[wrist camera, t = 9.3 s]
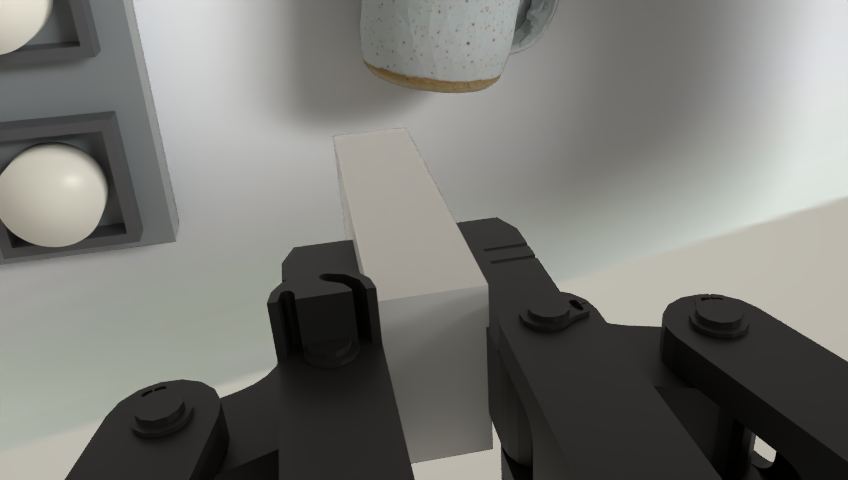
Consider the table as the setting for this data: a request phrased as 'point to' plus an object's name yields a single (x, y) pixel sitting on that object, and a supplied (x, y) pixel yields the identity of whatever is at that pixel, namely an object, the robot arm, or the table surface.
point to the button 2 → (53, 194)
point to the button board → (90, 121)
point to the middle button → (21, 21)
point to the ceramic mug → (447, 40)
